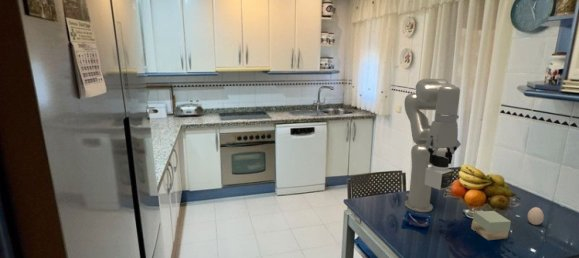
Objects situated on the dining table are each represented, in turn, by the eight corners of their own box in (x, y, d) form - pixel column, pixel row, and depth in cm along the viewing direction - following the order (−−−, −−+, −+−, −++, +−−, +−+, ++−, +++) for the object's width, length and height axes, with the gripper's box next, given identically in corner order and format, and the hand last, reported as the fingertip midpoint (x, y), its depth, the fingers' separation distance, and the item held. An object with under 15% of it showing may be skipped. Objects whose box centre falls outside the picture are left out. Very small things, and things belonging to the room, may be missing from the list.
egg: (537, 228, 132) (541, 211, 131) (523, 222, 137) (526, 206, 136) (544, 225, 135) (548, 209, 133) (530, 220, 140) (533, 203, 138)
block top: (473, 220, 132) (474, 211, 131) (492, 219, 133) (493, 210, 132) (488, 231, 123) (490, 222, 122) (509, 230, 124) (511, 221, 123)
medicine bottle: (440, 190, 120) (444, 161, 117) (424, 184, 126) (427, 156, 123) (451, 186, 123) (454, 158, 121) (434, 180, 129) (437, 153, 127)
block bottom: (471, 229, 132) (472, 220, 131) (489, 227, 134) (490, 218, 133) (488, 240, 124) (489, 231, 123) (507, 238, 125) (508, 229, 124)
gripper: (458, 116, 124) (452, 159, 128) (419, 117, 120) (414, 161, 124) (472, 119, 116) (466, 165, 120) (431, 121, 113) (426, 167, 117)
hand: (440, 162), depth 122 cm, fingers closed on medicine bottle, 6 cm apart
